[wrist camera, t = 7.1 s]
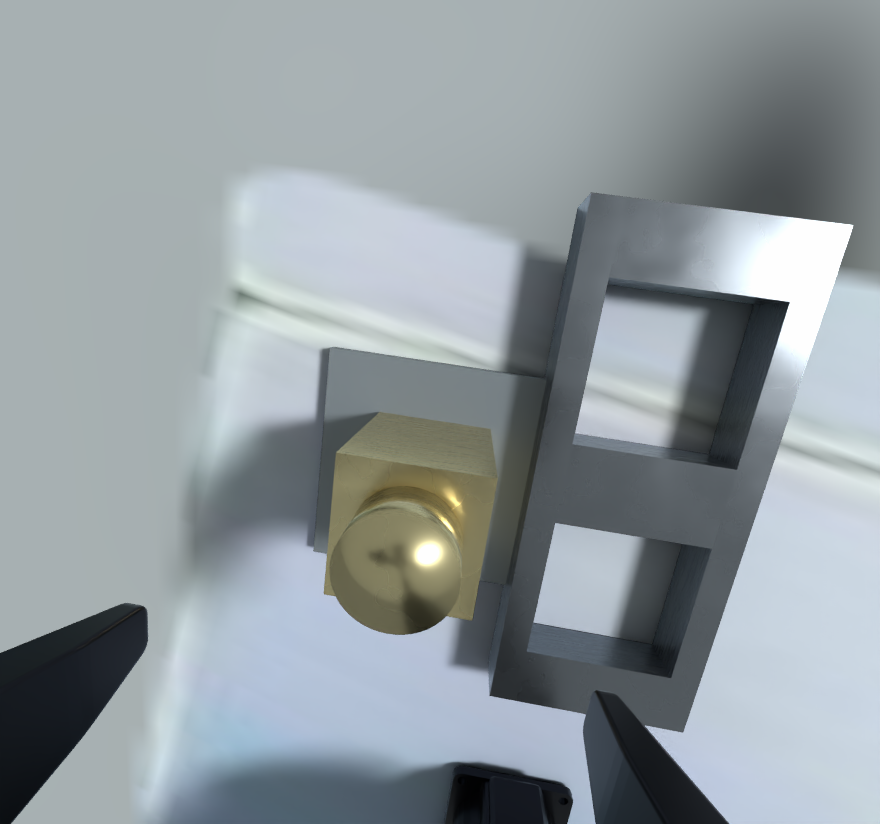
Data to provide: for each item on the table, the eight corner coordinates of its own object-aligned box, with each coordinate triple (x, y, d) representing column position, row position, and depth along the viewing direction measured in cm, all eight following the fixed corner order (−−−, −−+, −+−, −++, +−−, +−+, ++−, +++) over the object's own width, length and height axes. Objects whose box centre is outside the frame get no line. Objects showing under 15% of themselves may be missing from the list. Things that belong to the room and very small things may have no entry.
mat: (515, 579, 20) (516, 586, 20) (317, 545, 21) (313, 551, 20) (555, 380, 18) (558, 381, 18) (334, 347, 19) (329, 347, 18)
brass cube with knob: (473, 531, 19) (471, 670, 12) (368, 513, 20) (298, 638, 12) (490, 428, 18) (501, 507, 10) (380, 411, 19) (310, 475, 11)
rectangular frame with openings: (663, 694, 21) (683, 732, 19) (488, 662, 22) (489, 695, 20) (807, 236, 16) (853, 225, 14) (577, 207, 17) (591, 192, 15)
